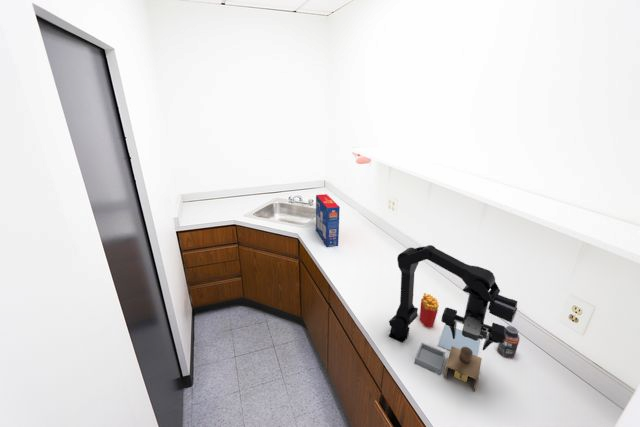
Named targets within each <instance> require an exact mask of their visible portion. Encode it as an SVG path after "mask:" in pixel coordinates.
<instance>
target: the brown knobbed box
mask: <svg viewBox="0 0 640 427" xmlns="http://www.w3.org/2000/svg"><path fill="white" fill-rule="evenodd" d="M472 353H473V352H472V350H471V349H470V348H468V347H462V348H461V350H460V349H458V348H455V347H453V346H452V347H451V350H450V351H449V355H448V358H447V361H446V364H445V368H444V369H445V371H444V375H443V378H444V379H446V378H447V374H448V370H449V369H450V370H453V371H455V370H456V371H458V372H460V373H463V374H465V375H467V376H468V377H470V378H472V379H474V384H473V388H472V392H476V389H477V386H478V383H479V382H478V381H479V380H480V379H479V378H480V373H481V364H482V360H483V359H482V357H480V356H479V355H478V356H475V355H473V354H472Z"/></svg>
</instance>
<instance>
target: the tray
mask: <svg viewBox="0 0 640 427" xmlns="http://www.w3.org/2000/svg"><path fill="white" fill-rule="evenodd" d="M416 352H417V353H416V355H415V357H414V363H413V364H414V365H417V366H419V367H422V368H424V369H426V370H428V371H430V372H432V373H435V374H437V375H440V374H441V370H442V367H443V364H444V360H445V358H446V357H445V356H446V353H447V352H446V351H443V350H441V349H439V348H436V347H434V346H431V345H430V344H429V345H428V344H427V343H424V342H421V343H420V345H419V347H418V350H417V351H416Z"/></svg>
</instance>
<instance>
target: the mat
mask: <svg viewBox="0 0 640 427" xmlns="http://www.w3.org/2000/svg"><path fill="white" fill-rule="evenodd" d="M462 330H463V329H462ZM462 330H461V329H459V328H456V335H455V339H453V336H452V332H451V329H450V327H449V326H448V325H446V324H445V323H444V326H443V329H442V332H441V335H440V338H439V341H438V344H437V347H440V348H443V349H444V350H448V351H449V352H450V350H451V347H452V346H453V347H455V348H458V349H460V350H461V348H462V347H468V348H470V349H471V350H472V352H473V353H472V354H473V355H475V356H478V357H479V350H480V345H481V339H478V340H477V341H475V340H473V339H470V338H468V337H464V336H463V335H462Z"/></svg>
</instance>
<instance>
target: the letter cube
mask: <svg viewBox="0 0 640 427" xmlns="http://www.w3.org/2000/svg"><path fill="white" fill-rule="evenodd" d="M453 377H454V378H456V379H458V380H461V381H463V382H465V383H467V380H468V377H469V376H467V375H465V374H463V373H460V372H458V371H456V370H454V375H453Z"/></svg>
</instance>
